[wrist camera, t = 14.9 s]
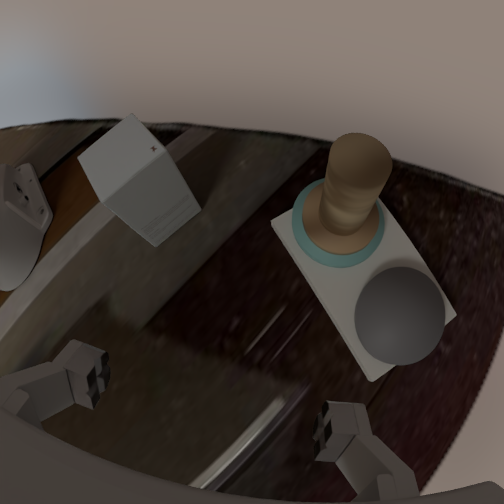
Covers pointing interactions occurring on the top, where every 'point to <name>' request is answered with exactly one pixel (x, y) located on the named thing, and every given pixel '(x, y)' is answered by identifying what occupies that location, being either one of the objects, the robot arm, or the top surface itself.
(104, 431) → the top surface
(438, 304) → the double oval pad board
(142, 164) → the supplement box
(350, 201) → the brown cylinder round base
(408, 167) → the top surface
